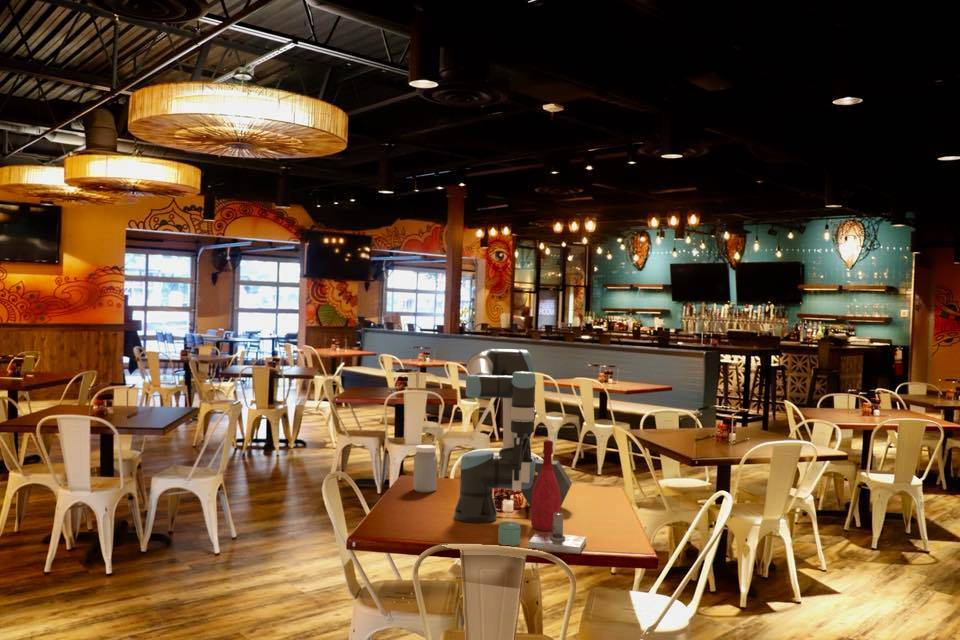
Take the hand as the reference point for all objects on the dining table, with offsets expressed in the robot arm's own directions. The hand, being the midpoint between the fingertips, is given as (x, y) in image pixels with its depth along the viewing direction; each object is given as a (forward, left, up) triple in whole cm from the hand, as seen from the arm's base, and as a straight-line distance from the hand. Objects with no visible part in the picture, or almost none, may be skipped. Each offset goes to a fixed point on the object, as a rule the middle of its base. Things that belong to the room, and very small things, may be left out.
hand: (520, 486), depth 252 cm
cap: (-3, -3, -18) cm, 18 cm away
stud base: (+12, 0, -18) cm, 21 cm away
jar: (-54, +57, -18) cm, 80 cm away
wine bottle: (+4, +19, -18) cm, 26 cm away
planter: (-2, +47, -18) cm, 50 cm away
